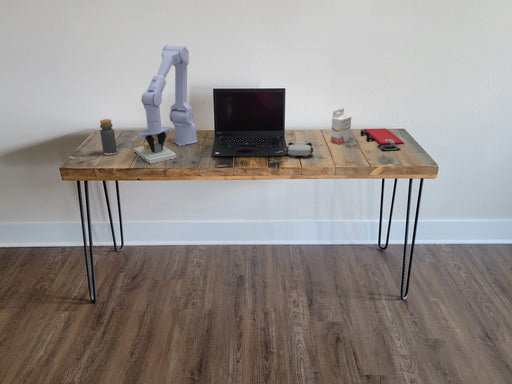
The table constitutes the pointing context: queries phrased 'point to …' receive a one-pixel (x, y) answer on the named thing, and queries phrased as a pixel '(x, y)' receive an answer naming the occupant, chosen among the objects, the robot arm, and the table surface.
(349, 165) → the table surface
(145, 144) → the slider
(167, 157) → the white layered base plate
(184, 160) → the table surface
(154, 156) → the cover
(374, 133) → the red board with handle
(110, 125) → the bottle
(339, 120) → the ink cartridge box
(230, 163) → the table surface
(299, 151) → the robot toy
